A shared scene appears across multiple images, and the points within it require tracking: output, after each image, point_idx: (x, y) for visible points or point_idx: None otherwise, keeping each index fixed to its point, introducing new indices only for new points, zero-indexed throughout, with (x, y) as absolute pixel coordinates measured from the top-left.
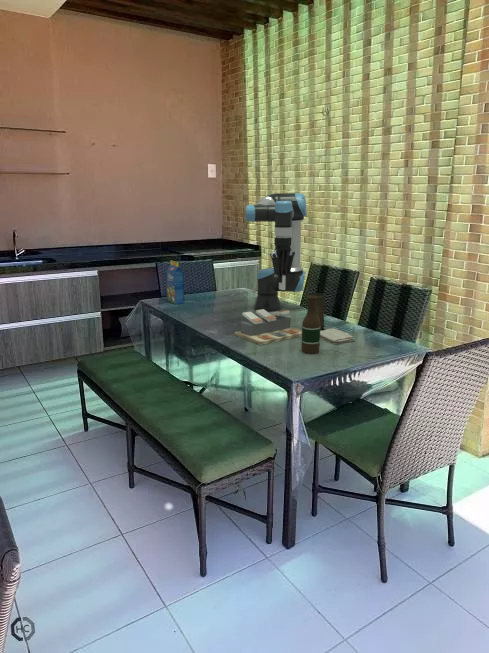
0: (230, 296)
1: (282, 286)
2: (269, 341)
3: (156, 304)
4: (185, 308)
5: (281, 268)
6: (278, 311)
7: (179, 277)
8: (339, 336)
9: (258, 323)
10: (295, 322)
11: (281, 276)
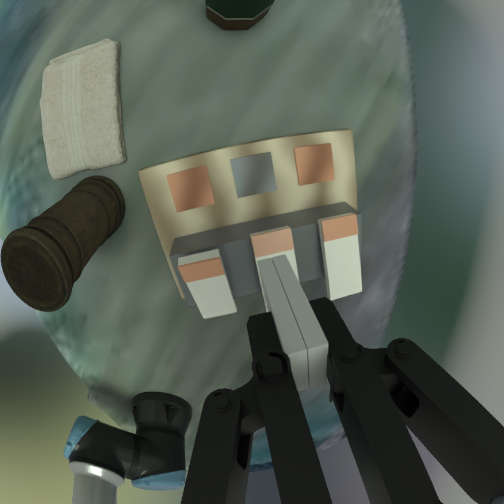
0: None
1: (293, 273)
2: (316, 132)
3: (334, 435)
4: (312, 424)
5: (389, 415)
6: (203, 303)
7: None
8: (75, 78)
9: (335, 216)
10: (125, 307)
11: (332, 346)
